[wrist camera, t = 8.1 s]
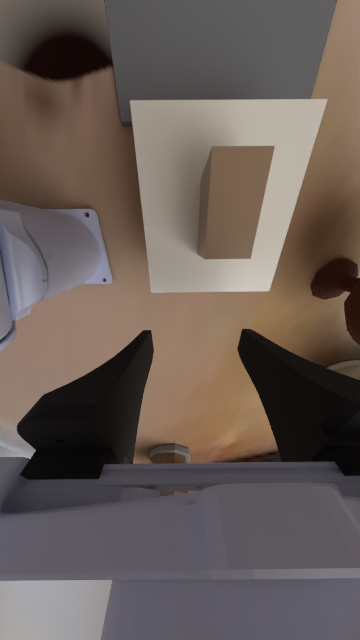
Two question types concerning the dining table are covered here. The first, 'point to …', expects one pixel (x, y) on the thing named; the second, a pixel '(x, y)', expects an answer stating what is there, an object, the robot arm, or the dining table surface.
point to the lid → (220, 187)
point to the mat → (216, 49)
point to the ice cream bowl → (341, 290)
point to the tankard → (170, 459)
